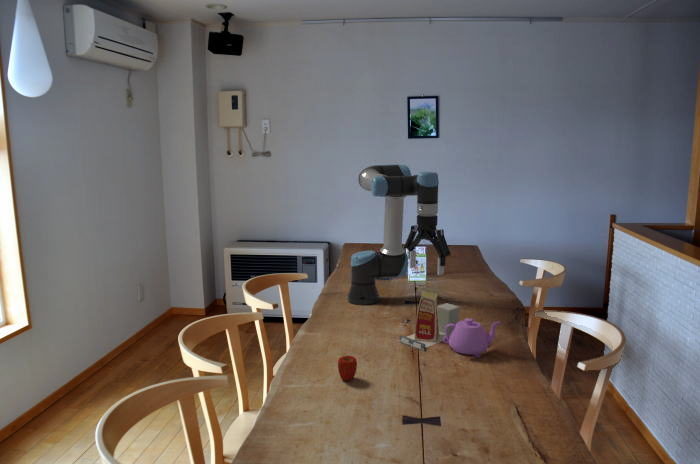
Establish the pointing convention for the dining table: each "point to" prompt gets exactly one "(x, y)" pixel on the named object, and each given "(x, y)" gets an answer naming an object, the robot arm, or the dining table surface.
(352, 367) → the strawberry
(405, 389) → the dining table surface
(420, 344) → the grey angled plate
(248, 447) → the dining table surface
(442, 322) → the grey rectangular block
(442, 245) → the robot arm
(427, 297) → the milk carton
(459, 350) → the teapot
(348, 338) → the dining table surface
